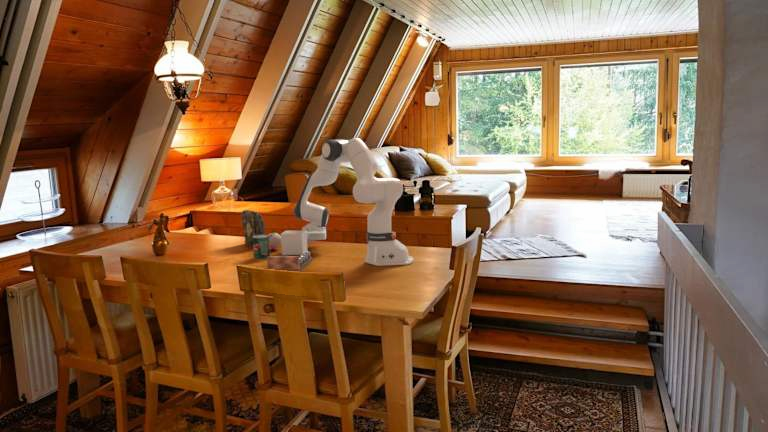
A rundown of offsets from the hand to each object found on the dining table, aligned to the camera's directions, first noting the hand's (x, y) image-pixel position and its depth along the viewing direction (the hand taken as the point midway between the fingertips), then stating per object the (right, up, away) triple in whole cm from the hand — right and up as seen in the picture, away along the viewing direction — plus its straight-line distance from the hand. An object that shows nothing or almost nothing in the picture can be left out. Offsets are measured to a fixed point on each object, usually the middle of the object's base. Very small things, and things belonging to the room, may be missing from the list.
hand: (302, 238), depth 286 cm
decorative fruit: (-17, -7, +20) cm, 28 cm away
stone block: (-31, -6, +32) cm, 45 cm away
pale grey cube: (-2, -7, -12) cm, 14 cm away
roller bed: (-3, -12, -18) cm, 22 cm away
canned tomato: (-20, -10, +2) cm, 22 cm away
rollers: (-2, -10, -16) cm, 19 cm away
